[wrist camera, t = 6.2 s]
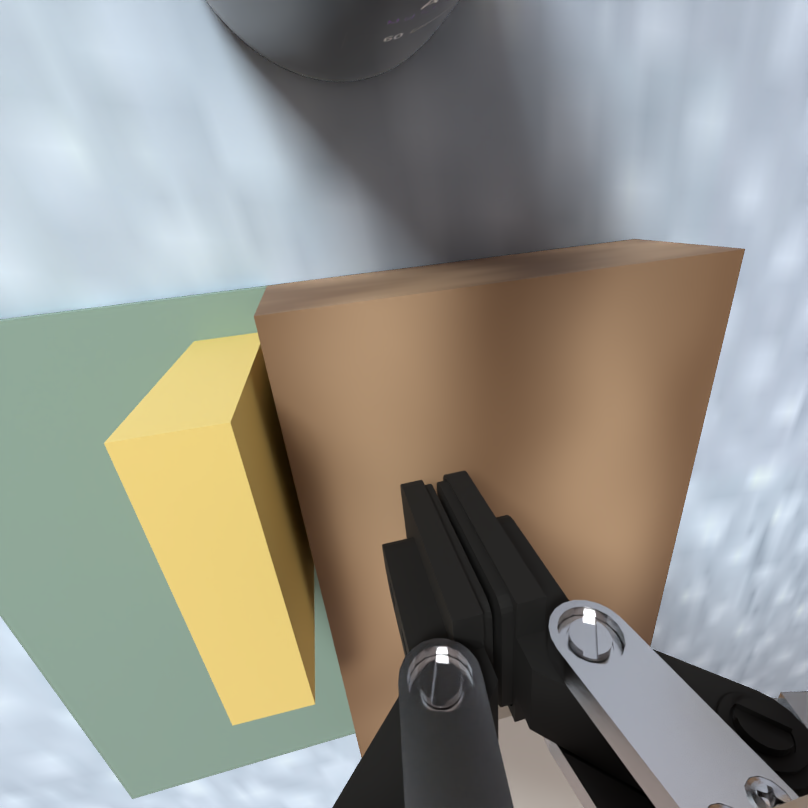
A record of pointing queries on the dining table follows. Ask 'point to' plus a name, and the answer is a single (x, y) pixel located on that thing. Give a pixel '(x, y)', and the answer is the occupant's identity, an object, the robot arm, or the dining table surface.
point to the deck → (497, 419)
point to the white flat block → (531, 767)
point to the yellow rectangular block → (226, 522)
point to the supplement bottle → (334, 33)
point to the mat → (121, 549)
